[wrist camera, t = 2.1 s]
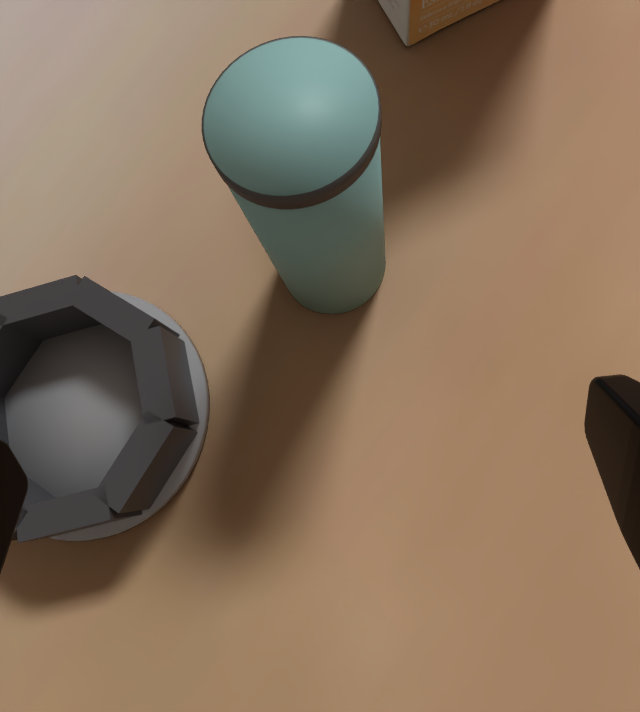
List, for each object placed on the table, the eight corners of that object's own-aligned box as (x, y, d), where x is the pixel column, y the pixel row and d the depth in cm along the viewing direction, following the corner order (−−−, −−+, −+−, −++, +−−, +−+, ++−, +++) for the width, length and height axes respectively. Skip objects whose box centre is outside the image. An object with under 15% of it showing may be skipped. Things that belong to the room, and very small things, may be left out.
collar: (231, 506, 22) (206, 510, 19) (-10, 565, 22) (-70, 579, 20) (185, 267, 24) (157, 239, 21) (-31, 329, 25) (-87, 310, 22)
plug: (398, 298, 23) (402, 166, 13) (294, 327, 23) (220, 219, 13) (371, 202, 24) (355, 13, 14) (271, 231, 24) (187, 66, 14)
